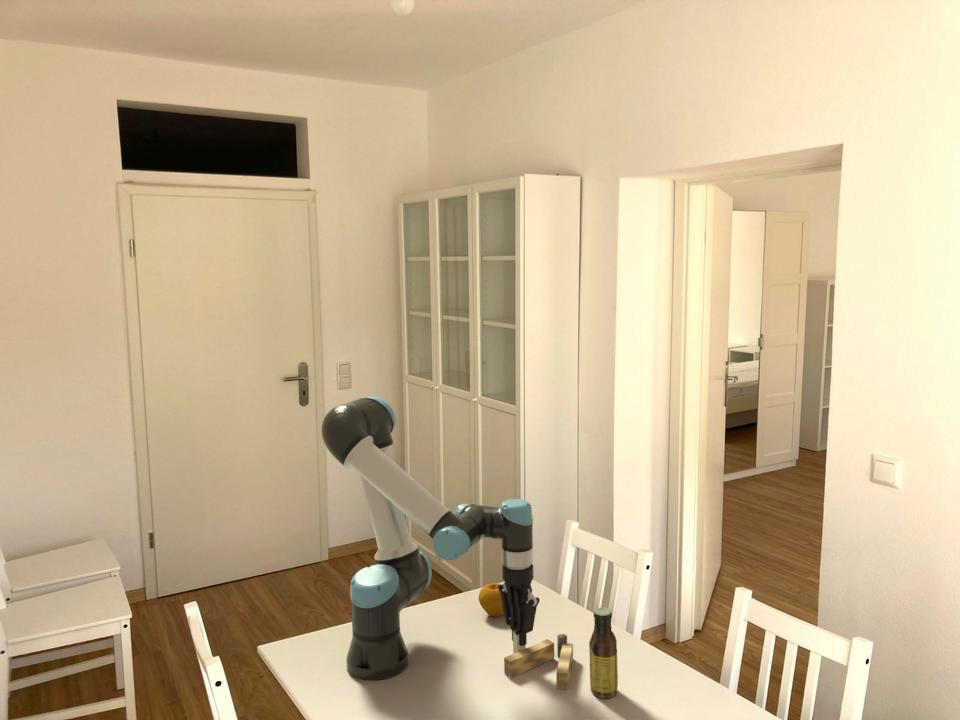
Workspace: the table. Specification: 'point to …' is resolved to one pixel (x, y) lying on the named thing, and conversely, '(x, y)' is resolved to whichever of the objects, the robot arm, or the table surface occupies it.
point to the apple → (491, 600)
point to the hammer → (564, 662)
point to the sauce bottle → (603, 655)
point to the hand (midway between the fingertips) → (519, 655)
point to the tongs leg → (528, 658)
